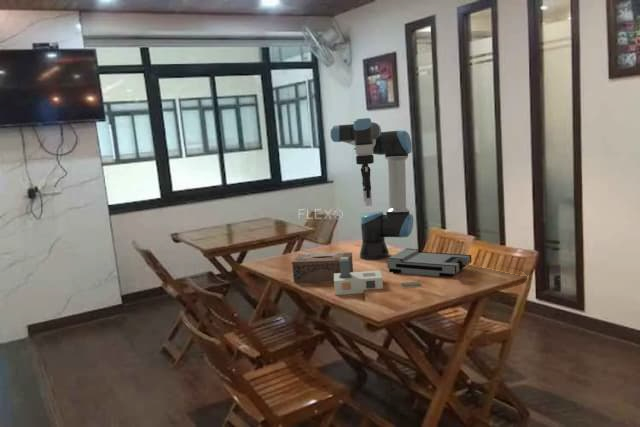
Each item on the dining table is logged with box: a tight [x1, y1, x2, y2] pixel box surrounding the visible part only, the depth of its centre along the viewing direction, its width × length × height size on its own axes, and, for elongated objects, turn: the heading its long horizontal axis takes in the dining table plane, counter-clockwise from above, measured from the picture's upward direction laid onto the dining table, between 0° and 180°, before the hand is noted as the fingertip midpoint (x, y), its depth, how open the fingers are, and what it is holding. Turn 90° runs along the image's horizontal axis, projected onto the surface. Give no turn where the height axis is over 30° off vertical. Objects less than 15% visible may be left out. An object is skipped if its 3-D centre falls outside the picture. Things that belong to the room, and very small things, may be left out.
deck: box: [400, 281, 423, 289], centre depth 231 cm, size 8×8×2 cm
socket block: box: [333, 269, 384, 296], centre depth 236 cm, size 12×20×6 cm, turn 89°
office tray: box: [386, 248, 472, 278], centre depth 253 cm, size 21×32×8 cm, turn 56°
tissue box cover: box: [291, 252, 354, 284], centre depth 259 cm, size 26×14×10 cm, turn 80°
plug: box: [340, 257, 350, 278], centre depth 235 cm, size 4×4×13 cm
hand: (367, 203), depth 243 cm, fingers open, 13 cm apart
